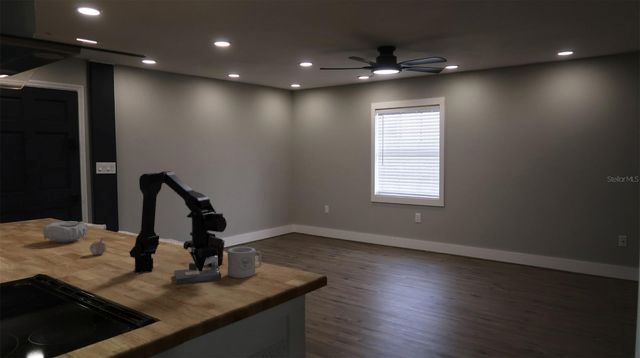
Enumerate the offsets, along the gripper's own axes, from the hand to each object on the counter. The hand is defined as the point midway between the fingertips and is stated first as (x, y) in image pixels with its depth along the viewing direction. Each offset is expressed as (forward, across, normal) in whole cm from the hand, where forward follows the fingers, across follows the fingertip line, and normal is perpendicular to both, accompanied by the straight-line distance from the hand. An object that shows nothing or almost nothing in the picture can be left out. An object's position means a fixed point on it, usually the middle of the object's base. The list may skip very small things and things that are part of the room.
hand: (200, 270), depth 166 cm
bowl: (+4, +108, +30) cm, 112 cm away
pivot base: (+3, +10, -10) cm, 15 cm away
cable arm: (+3, +7, -5) cm, 9 cm away
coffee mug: (+4, +18, -14) cm, 24 cm away
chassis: (+3, +4, 0) cm, 5 cm away
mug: (+4, -3, -17) cm, 18 cm away
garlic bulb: (+4, +66, +22) cm, 70 cm away
